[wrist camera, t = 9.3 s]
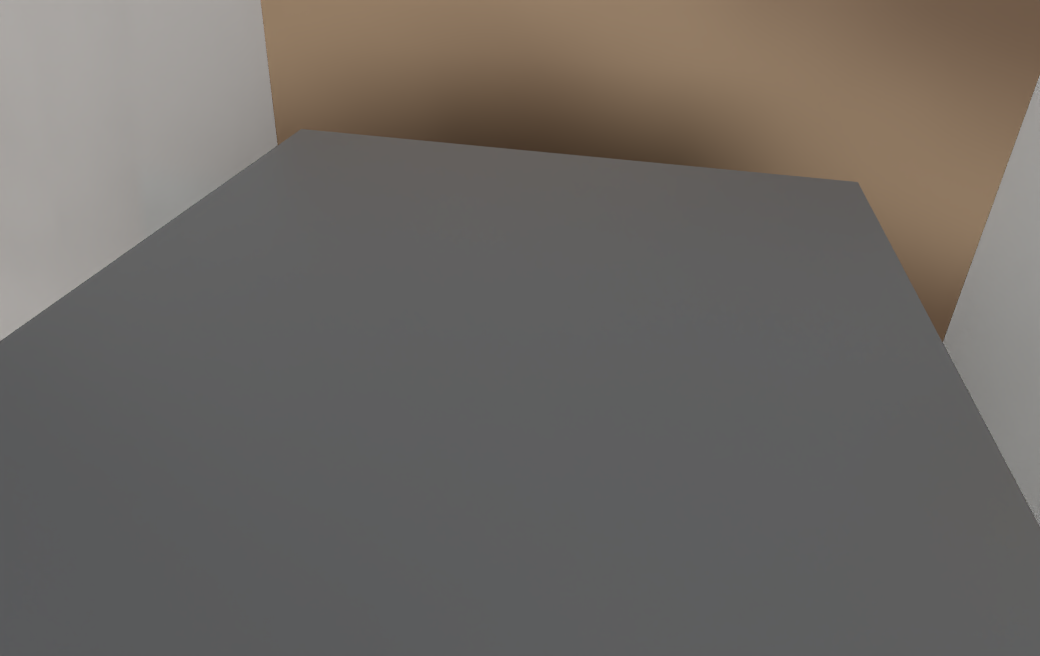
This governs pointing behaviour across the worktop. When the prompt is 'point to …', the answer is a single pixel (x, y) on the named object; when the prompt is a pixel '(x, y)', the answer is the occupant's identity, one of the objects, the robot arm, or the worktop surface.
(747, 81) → the walnut pad
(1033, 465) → the worktop surface
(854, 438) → the matte grey cuboid
